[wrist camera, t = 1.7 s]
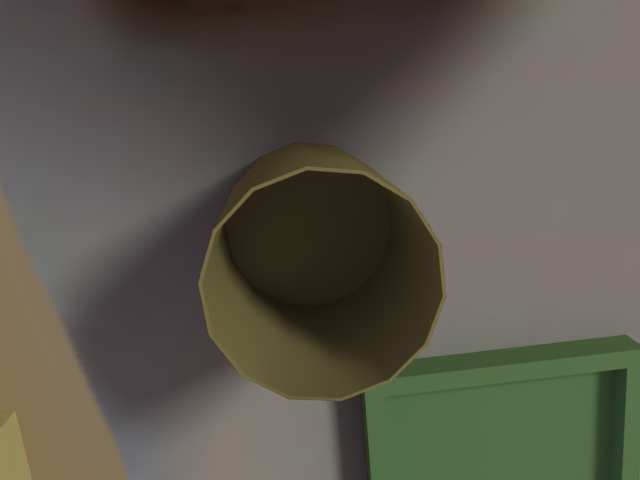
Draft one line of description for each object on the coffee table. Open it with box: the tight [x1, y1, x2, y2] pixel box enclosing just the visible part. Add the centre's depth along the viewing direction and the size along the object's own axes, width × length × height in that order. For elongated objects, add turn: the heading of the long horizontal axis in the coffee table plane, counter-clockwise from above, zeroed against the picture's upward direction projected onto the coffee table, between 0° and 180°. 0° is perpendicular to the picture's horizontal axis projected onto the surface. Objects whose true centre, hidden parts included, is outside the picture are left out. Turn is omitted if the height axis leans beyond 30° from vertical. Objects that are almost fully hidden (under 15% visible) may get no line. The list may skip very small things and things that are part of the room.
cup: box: [198, 143, 446, 401], centre depth 24 cm, size 8×8×10 cm
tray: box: [361, 335, 640, 480], centre depth 32 cm, size 15×15×2 cm
